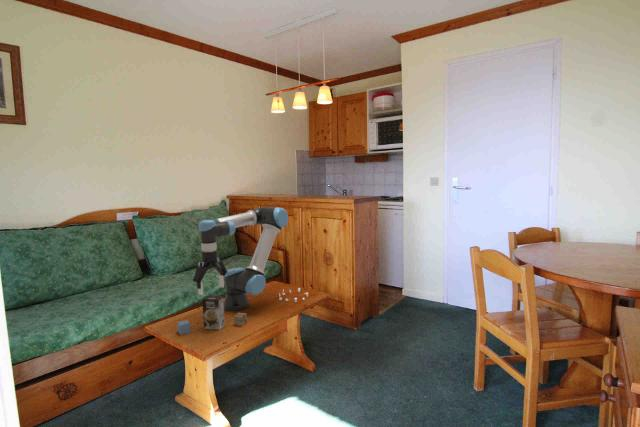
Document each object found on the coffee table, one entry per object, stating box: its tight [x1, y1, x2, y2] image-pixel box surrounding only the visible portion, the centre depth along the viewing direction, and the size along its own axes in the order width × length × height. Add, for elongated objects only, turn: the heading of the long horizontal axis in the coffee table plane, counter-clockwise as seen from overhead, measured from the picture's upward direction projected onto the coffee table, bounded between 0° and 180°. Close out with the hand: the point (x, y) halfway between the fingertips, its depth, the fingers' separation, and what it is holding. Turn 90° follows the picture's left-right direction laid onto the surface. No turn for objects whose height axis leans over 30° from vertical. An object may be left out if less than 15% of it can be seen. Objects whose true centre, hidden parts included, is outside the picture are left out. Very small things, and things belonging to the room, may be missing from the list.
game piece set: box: [278, 287, 309, 303], centre depth 237 cm, size 19×20×4 cm
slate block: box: [176, 319, 192, 336], centre depth 190 cm, size 5×5×5 cm
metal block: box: [233, 312, 248, 327], centre depth 198 cm, size 5×5×5 cm
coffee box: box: [201, 295, 225, 330], centre depth 194 cm, size 9×6×16 cm
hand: (211, 290), depth 192 cm, fingers open, 13 cm apart
